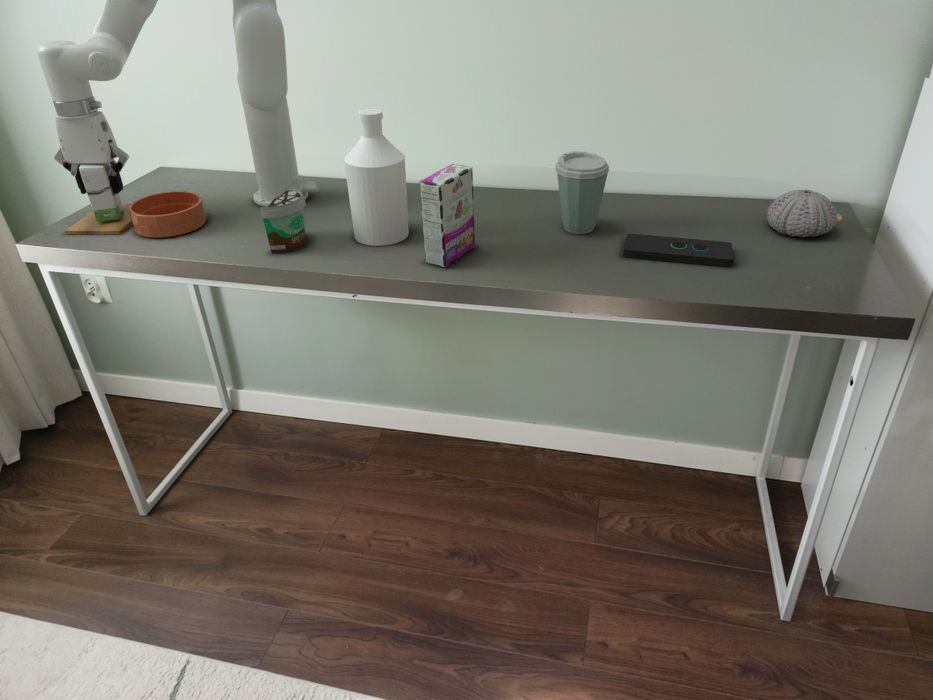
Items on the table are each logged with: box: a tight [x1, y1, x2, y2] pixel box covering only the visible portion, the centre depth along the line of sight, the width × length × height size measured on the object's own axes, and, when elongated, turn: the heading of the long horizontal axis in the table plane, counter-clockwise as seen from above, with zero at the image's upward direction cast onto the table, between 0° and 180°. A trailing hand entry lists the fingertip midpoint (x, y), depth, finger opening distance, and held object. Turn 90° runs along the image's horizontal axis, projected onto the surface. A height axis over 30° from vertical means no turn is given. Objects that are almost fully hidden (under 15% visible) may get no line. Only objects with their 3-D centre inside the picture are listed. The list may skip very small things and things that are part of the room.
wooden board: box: [64, 202, 133, 235], centre depth 155 cm, size 12×16×1 cm
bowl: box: [128, 190, 208, 239], centre depth 151 cm, size 15×15×5 cm
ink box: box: [79, 164, 122, 222], centre depth 152 cm, size 9×5×12 cm, turn 19°
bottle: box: [343, 108, 410, 247], centre depth 139 cm, size 12×12×25 cm
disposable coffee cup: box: [554, 151, 610, 235], centre depth 142 cm, size 11×11×15 cm
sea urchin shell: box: [766, 189, 838, 238], centre depth 141 cm, size 13×14×8 cm
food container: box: [259, 187, 307, 254], centre depth 140 cm, size 12×6×10 cm, turn 168°
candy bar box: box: [418, 163, 476, 268], centre depth 132 cm, size 11×5×16 cm, turn 148°
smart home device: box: [622, 233, 734, 268], centre depth 134 cm, size 8×2×20 cm
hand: (102, 191), depth 152 cm, fingers closed on ink box, 6 cm apart
